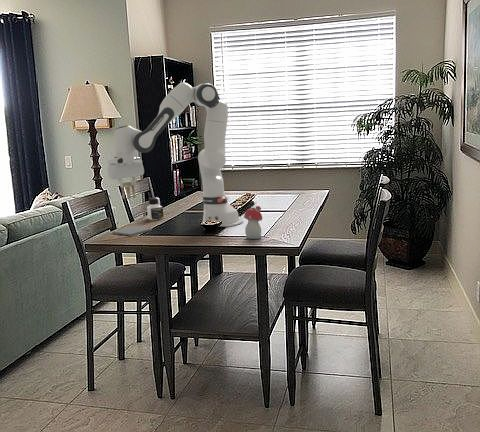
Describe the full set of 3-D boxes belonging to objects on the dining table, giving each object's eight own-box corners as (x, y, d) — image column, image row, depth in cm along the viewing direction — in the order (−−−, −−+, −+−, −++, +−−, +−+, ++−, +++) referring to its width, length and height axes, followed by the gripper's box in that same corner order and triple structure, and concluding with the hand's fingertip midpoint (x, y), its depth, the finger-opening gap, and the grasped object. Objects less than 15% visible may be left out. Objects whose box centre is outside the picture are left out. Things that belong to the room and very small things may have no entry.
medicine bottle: (151, 220, 309) (149, 199, 307) (147, 218, 316) (145, 198, 313) (163, 218, 313) (162, 197, 310) (159, 217, 319) (157, 196, 317)
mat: (151, 230, 283) (151, 228, 283) (130, 236, 272) (130, 234, 272) (133, 228, 292) (133, 226, 292) (112, 233, 281) (112, 231, 281)
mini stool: (129, 197, 283) (128, 181, 281) (136, 197, 279) (135, 181, 278) (121, 198, 279) (119, 182, 277) (128, 199, 275) (126, 183, 274)
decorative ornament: (266, 238, 251) (264, 205, 248) (254, 240, 247) (252, 207, 244) (253, 235, 258) (251, 203, 256) (242, 237, 255) (240, 205, 252)
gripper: (137, 156, 285) (139, 183, 288) (104, 160, 270) (107, 188, 272) (145, 156, 281) (147, 183, 284) (113, 160, 266) (115, 189, 268)
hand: (127, 186), depth 278 cm, fingers closed on mini stool, 5 cm apart
